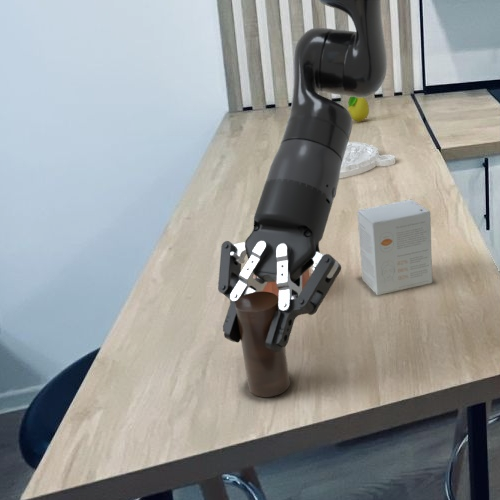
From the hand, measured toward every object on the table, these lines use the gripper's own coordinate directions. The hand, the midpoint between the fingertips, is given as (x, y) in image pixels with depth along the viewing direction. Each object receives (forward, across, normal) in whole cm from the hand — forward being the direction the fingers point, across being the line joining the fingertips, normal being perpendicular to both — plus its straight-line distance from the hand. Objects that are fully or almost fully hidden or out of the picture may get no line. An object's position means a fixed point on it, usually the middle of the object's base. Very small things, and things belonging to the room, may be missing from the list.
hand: (251, 344), depth 66 cm
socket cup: (-11, -10, +20) cm, 25 cm away
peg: (+3, 0, +6) cm, 6 cm away
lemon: (-79, -44, +89) cm, 127 cm away
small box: (-16, +3, +26) cm, 31 cm away
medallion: (-52, -32, +61) cm, 86 cm away
